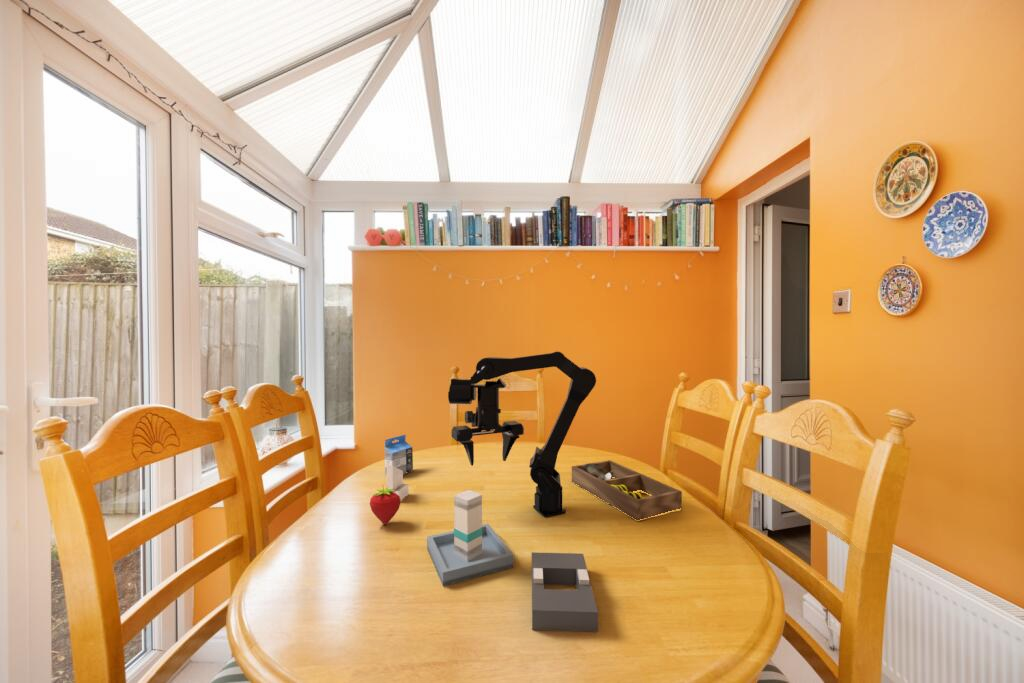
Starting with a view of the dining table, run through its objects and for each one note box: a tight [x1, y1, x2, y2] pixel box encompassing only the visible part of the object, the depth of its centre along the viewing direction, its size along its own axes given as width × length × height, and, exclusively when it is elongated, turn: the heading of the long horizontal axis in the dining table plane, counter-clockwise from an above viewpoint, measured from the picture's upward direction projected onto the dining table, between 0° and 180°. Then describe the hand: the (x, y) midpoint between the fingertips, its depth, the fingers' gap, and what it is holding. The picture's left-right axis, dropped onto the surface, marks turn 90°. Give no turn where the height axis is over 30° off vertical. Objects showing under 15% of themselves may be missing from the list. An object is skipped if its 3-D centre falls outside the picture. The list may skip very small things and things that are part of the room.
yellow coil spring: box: [612, 485, 643, 499], centre depth 102 cm, size 10×5×5 cm, turn 24°
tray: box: [426, 523, 515, 587], centre depth 78 cm, size 14×14×2 cm
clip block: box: [531, 551, 599, 633], centre depth 66 cm, size 16×10×4 cm, turn 177°
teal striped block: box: [453, 489, 483, 562], centre depth 78 cm, size 4×4×12 cm
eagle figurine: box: [583, 462, 614, 481], centre depth 116 cm, size 8×7×9 cm
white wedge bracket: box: [386, 466, 410, 501], centre depth 107 cm, size 4×10×9 cm
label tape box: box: [384, 434, 414, 476], centre depth 127 cm, size 9×4×12 cm, turn 147°
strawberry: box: [369, 484, 402, 525], centre depth 92 cm, size 6×8×10 cm
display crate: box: [571, 459, 683, 520], centre depth 109 cm, size 15×29×5 cm, turn 24°
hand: (488, 462), depth 101 cm, fingers open, 9 cm apart
